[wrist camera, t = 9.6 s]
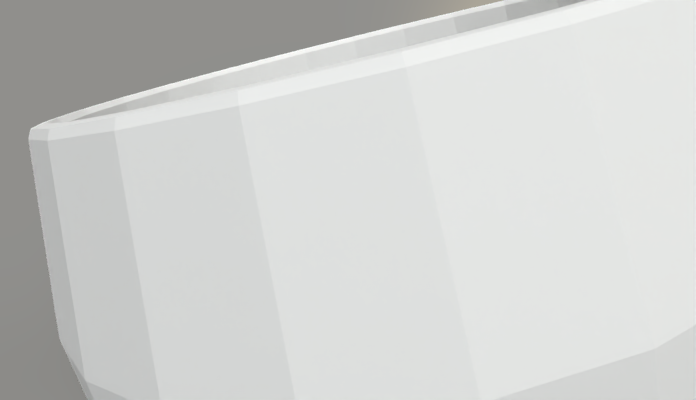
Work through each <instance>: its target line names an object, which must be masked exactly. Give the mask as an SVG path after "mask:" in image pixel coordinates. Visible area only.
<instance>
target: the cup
mask: <svg viewBox="0 0 696 400" xmlns="http://www.w3.org/2000/svg"><path fill="white" fill-rule="evenodd" d="M28 140H29V147H30V153H31V160H32V166H33V173H34V179H35V185H36V191H37V198H38V205H39V211H40V217H41V224H42V231H43V237H44V243H45V250H46V256H47V263H48V269H49V276H50V282H51V289H52V295H53V301H54V308H55V314H56V320H57V327H58V333H59V340H60V342H61V344H62V346H63V349H64V351H65V353H66V355H67V357H68V359H69V361H70V363H71V366H72V368H73V370H74V372H75V374H76V376H77V378H78V380H79V383H80V385H81V387H82V389H83V391H84V394H85V396H86V397H87V400H696V0H504V1H500V2H495V3H491V4H487V5H483V6H479V7H474V8H470V9H466V10H461V11H457V12H453V13H449V14H445V15H441V16H436V17H432V18H428V19H424V20H419V21H416V22H411V23H407V24H403V25H399V26H395V27H390V28H387V29H383V30H378V31H374V32H370V33H367V34H363V35H358V36H354V37H350V38H346V39H342V40H338V41H334V42H330V43H326V44H322V45H318V46H314V47H310V48H306V49H302V50H298V51H294V52H290V53H286V54H282V55H278V56H274V57H270V58H266V59H263V60H259V61H255V62H251V63H247V64H243V65H240V66H236V67H232V68H228V69H225V70H220V71H217V72H213V73H209V74H205V75H202V76H198V77H194V78H191V79H187V80H183V81H180V82H176V83H172V84H168V85H164V86H161V87H157V88H154V89H150V90H147V91H143V92H139V93H136V94H132V95H129V96H125V97H122V98H118V99H115V100H112V101H108V102H105V103H101V104H98V105H95V106H91V107H88V108H85V109H82V110H78V111H75V112H72V113H69V114H66V115H63V116H60V117H57V118H54V119H52V120H49V121H46V122H43V123H41V124H39V125H37V126H35V127H33V128H31V129H30V134H29V139H28Z"/></svg>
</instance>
